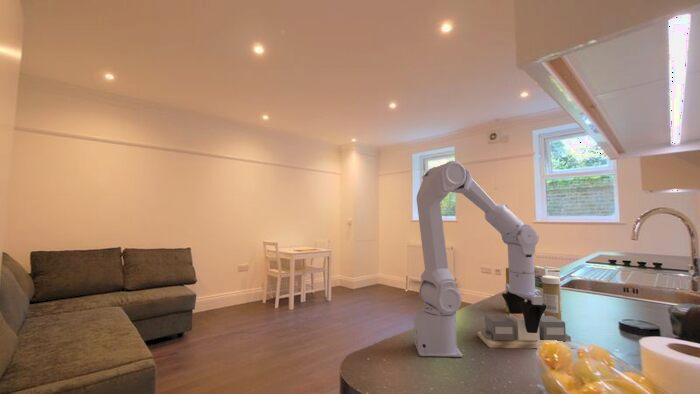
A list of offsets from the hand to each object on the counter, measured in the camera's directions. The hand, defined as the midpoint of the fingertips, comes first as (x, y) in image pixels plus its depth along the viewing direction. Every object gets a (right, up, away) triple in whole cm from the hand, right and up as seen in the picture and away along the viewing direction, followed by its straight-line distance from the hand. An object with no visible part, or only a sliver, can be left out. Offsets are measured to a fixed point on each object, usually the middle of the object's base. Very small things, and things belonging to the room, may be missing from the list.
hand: (523, 327), depth 78 cm
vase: (+11, -6, +25) cm, 28 cm away
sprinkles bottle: (+17, -5, +15) cm, 23 cm away
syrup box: (+24, -6, +27) cm, 37 cm away
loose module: (0, -2, 0) cm, 2 cm away
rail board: (0, -4, 0) cm, 4 cm away
